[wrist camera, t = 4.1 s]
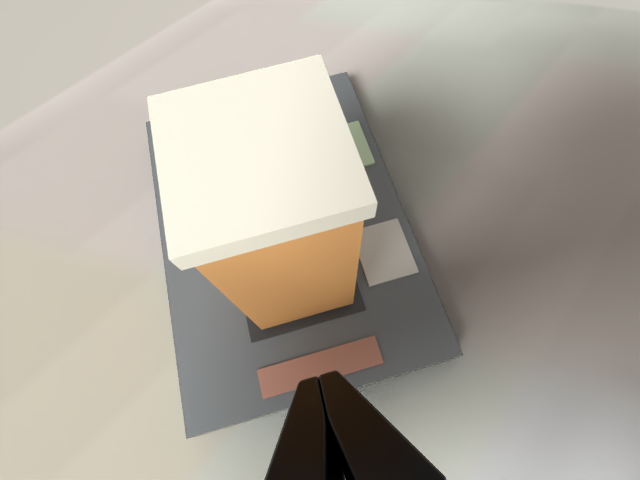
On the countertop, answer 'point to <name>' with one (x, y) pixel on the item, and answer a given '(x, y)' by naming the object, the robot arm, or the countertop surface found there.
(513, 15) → the countertop surface
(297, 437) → the robot arm
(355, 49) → the countertop surface
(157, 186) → the switch board
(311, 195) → the lidded box
